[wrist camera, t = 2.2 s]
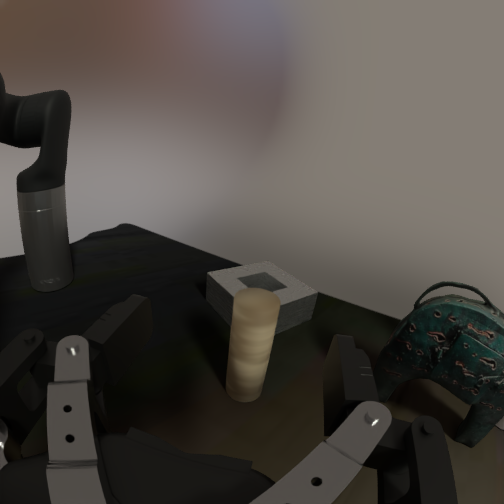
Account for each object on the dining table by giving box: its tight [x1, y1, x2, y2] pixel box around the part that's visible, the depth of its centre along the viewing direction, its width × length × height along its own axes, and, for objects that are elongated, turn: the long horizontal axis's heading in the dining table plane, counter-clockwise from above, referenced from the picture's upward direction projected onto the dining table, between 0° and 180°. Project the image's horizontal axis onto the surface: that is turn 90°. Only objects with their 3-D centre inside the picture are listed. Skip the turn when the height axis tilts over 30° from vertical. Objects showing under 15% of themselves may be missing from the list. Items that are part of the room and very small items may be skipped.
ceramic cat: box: [373, 282, 504, 448], centre depth 19 cm, size 20×6×20 cm, turn 44°
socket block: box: [206, 261, 318, 335], centre depth 42 cm, size 12×12×5 cm
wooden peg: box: [226, 288, 281, 402], centre depth 26 cm, size 4×4×12 cm
